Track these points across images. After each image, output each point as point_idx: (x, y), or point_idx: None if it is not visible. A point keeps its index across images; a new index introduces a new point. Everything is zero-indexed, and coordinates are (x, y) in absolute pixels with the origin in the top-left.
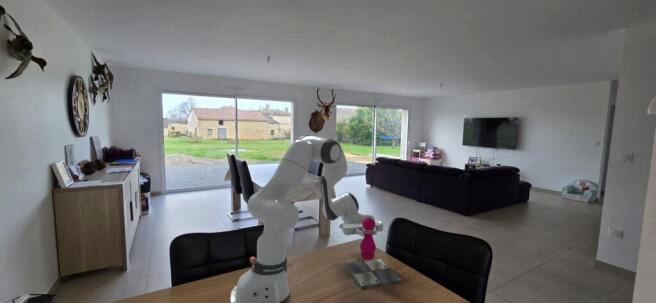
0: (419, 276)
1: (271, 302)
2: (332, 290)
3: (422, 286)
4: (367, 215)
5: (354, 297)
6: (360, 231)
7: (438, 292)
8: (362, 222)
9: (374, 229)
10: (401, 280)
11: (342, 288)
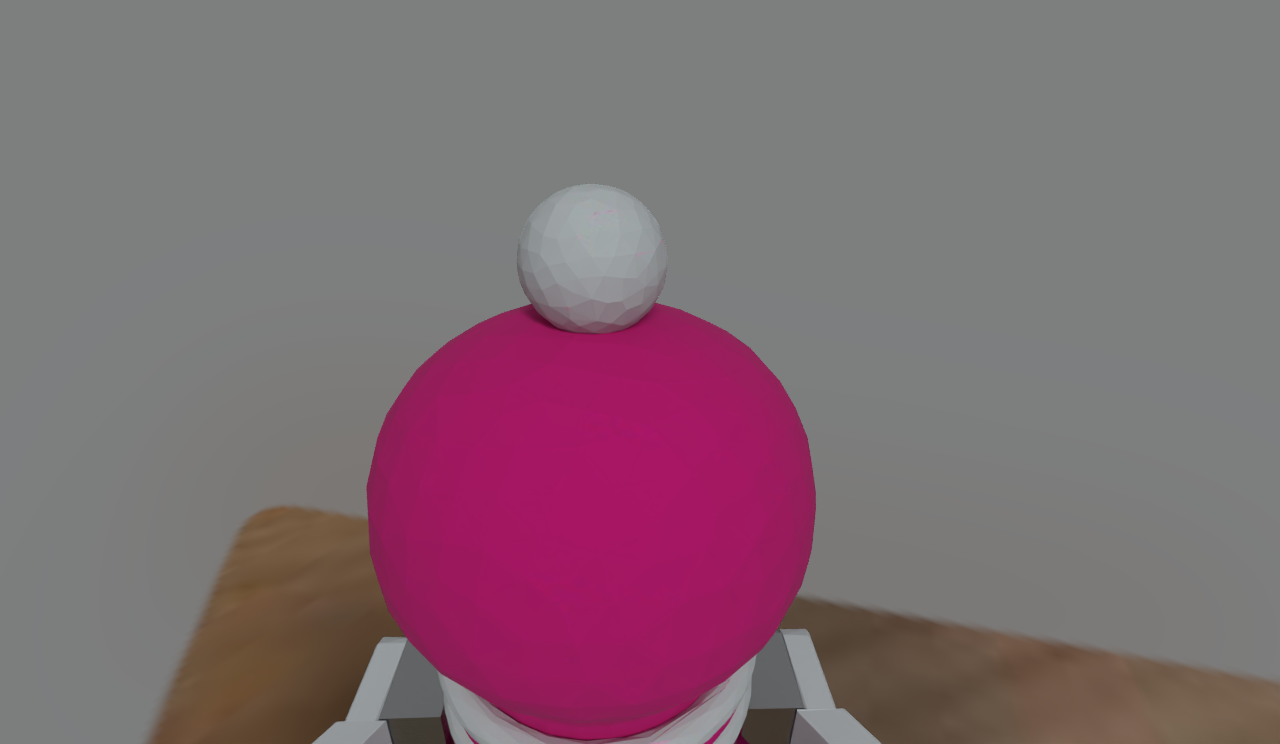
0: (172, 729)
1: None
2: (1043, 710)
3: (315, 607)
4: (649, 225)
5: (854, 605)
6: (829, 697)
7: (292, 543)
8: (814, 486)
9: (355, 735)
10: None
11: (955, 717)
